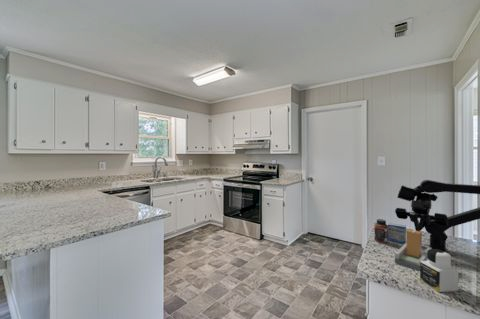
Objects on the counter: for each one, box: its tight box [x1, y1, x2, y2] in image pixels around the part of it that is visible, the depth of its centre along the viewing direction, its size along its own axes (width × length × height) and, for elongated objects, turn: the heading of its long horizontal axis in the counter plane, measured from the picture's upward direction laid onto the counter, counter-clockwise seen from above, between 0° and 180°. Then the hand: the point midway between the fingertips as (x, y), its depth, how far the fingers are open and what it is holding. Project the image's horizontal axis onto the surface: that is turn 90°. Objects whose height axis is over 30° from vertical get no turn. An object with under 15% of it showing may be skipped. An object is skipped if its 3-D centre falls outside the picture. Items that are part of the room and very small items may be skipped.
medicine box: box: [387, 222, 407, 245], centre depth 115 cm, size 8×4×9 cm, turn 55°
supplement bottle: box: [374, 218, 389, 244], centre depth 114 cm, size 6×6×11 cm
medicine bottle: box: [419, 249, 459, 293], centre depth 75 cm, size 7×7×12 cm
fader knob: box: [406, 228, 423, 257], centre depth 94 cm, size 4×4×10 cm
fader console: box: [394, 241, 432, 271], centre depth 94 cm, size 19×9×4 cm, turn 130°
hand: (417, 231), depth 99 cm, fingers closed
